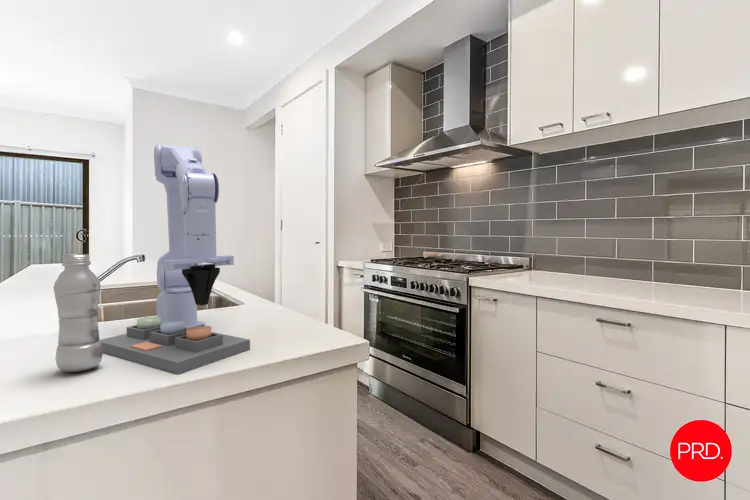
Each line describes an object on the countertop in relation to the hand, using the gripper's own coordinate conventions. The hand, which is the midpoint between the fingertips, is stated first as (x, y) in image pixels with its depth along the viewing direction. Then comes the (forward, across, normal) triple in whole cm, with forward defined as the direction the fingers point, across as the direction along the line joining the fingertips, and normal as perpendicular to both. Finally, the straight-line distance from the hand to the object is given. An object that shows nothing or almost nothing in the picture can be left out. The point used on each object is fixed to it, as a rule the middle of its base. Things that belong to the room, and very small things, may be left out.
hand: (201, 304), depth 79 cm
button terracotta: (+6, -2, -2) cm, 7 cm away
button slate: (+6, -2, +6) cm, 9 cm away
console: (+10, -2, +6) cm, 12 cm away
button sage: (+6, -2, +14) cm, 16 cm away
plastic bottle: (+10, -17, +10) cm, 22 cm away
